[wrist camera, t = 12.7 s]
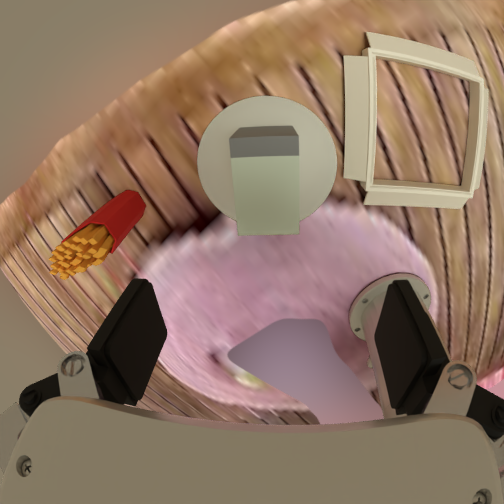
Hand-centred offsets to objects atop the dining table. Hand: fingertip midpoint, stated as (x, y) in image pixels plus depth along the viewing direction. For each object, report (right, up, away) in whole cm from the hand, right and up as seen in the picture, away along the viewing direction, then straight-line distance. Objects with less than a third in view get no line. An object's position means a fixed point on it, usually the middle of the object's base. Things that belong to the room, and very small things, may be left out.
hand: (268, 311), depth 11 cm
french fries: (-16, +8, +21) cm, 27 cm away
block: (+1, +11, +16) cm, 20 cm away
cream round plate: (+1, +11, +17) cm, 20 cm away
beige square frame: (+18, +16, +13) cm, 27 cm away
